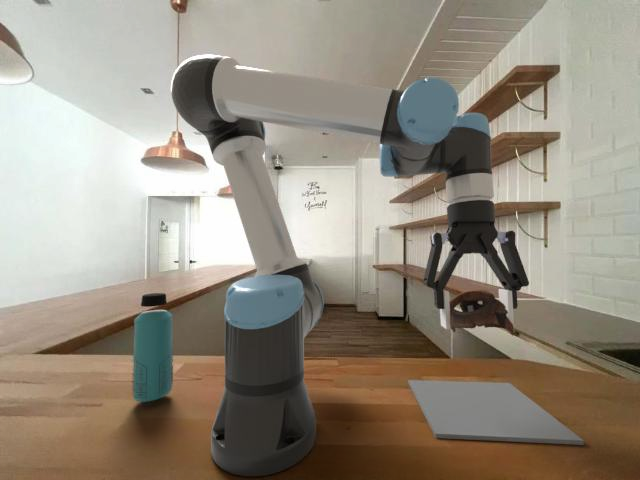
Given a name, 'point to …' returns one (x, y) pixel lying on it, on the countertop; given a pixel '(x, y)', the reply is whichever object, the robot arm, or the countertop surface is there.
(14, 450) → the countertop surface
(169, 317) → the beverage bottle
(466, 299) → the broken terracotta jug
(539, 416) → the gray mat
